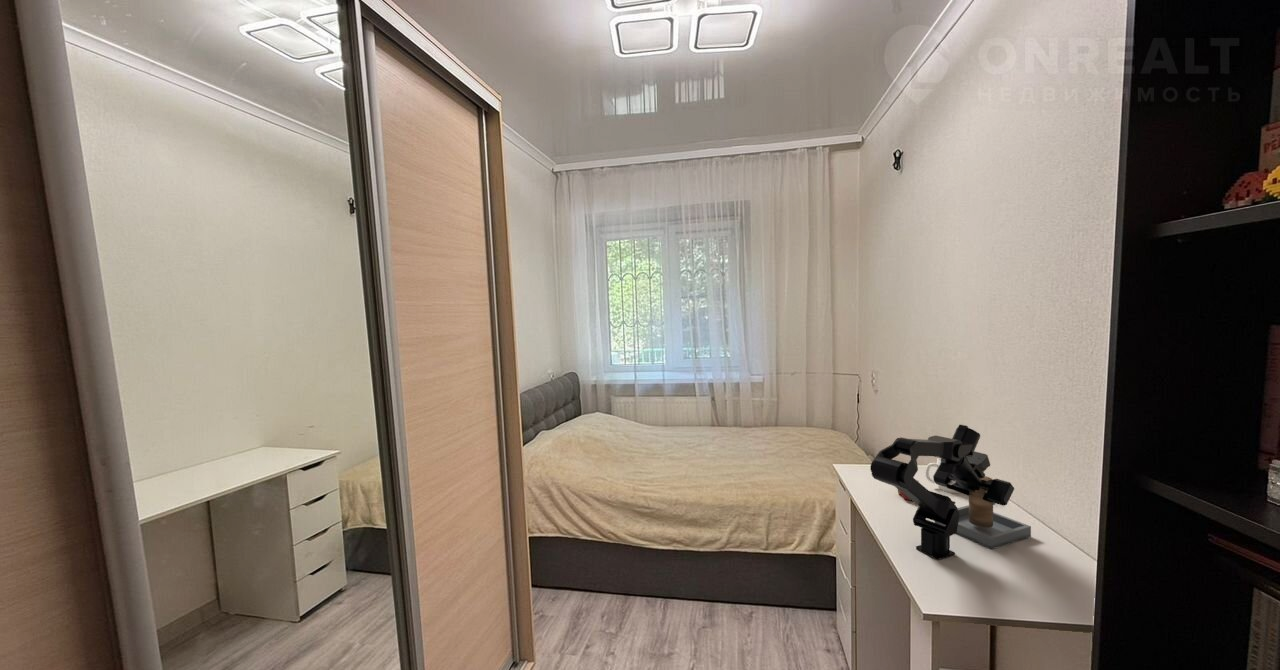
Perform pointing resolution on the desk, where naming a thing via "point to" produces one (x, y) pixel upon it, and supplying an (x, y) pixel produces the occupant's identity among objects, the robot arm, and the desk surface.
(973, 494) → the wooden cylinder
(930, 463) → the cup
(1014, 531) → the tray
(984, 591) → the desk surface
